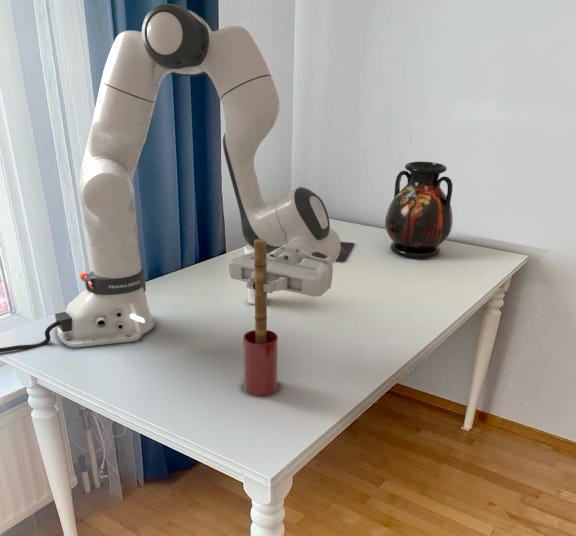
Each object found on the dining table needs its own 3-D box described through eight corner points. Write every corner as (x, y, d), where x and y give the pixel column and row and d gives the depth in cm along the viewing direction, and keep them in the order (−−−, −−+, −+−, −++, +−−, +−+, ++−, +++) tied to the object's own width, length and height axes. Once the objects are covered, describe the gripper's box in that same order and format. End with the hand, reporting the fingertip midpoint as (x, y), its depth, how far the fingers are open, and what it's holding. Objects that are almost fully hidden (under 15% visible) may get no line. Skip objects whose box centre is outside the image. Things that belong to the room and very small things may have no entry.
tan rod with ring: (258, 349, 117) (257, 243, 106) (253, 344, 118) (251, 239, 108) (269, 346, 118) (269, 241, 107) (263, 341, 119) (263, 237, 109)
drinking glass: (266, 307, 158) (267, 252, 151) (242, 305, 159) (241, 250, 152) (272, 298, 164) (273, 244, 156) (248, 295, 165) (247, 242, 158)
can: (252, 399, 119) (252, 347, 113) (238, 383, 124) (237, 333, 118) (282, 391, 122) (283, 340, 116) (267, 376, 127) (268, 327, 121)
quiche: (280, 255, 195) (281, 243, 193) (296, 238, 212) (296, 226, 210) (343, 262, 191) (344, 250, 189) (354, 243, 208) (355, 232, 206)
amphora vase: (370, 254, 199) (379, 165, 184) (399, 238, 214) (409, 156, 200) (431, 267, 188) (445, 175, 174) (457, 250, 204) (471, 164, 189)
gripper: (249, 241, 124) (211, 260, 114) (339, 258, 116) (307, 280, 105) (250, 271, 127) (212, 292, 117) (338, 289, 119) (306, 314, 109)
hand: (258, 286), depth 111 cm, fingers closed on tan rod with ring, 2 cm apart
